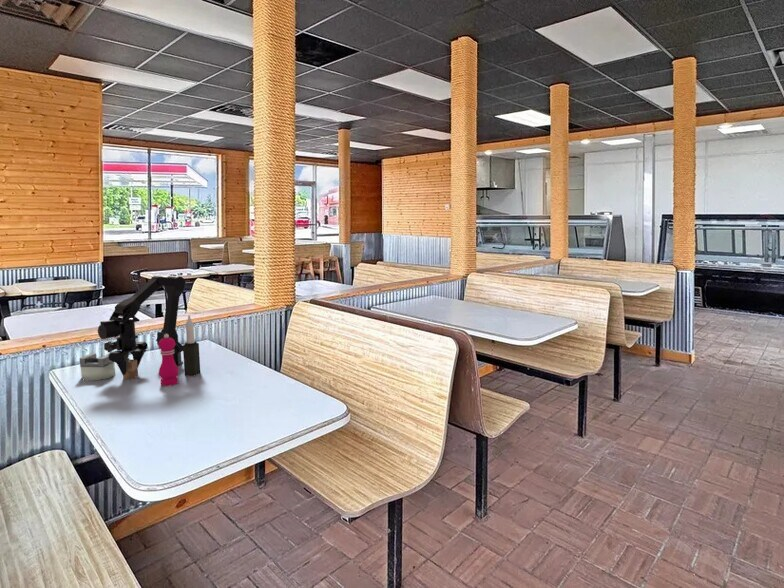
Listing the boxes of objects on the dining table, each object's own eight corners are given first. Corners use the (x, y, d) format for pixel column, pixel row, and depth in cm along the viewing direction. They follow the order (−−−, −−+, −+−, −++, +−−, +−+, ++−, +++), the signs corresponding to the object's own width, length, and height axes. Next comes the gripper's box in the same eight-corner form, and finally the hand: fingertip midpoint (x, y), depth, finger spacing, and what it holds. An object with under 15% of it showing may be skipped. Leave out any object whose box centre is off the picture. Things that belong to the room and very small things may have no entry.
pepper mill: (174, 386, 195) (171, 336, 192) (156, 386, 195) (152, 335, 192) (182, 380, 202) (179, 331, 199) (164, 380, 202) (161, 331, 199)
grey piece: (121, 371, 212) (120, 360, 211) (104, 381, 200) (103, 369, 200) (93, 371, 213) (92, 359, 212) (74, 380, 201) (73, 368, 200)
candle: (194, 376, 207) (191, 316, 203) (183, 375, 208) (179, 316, 204) (201, 372, 212) (198, 314, 208) (190, 371, 213) (187, 313, 209)
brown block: (138, 376, 207) (137, 359, 206) (132, 379, 203) (131, 362, 202) (128, 375, 207) (127, 359, 206) (123, 379, 203) (121, 362, 202)
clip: (114, 361, 209) (114, 353, 209) (103, 367, 202) (102, 358, 201) (92, 361, 210) (91, 353, 209) (80, 366, 202) (79, 358, 202)
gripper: (121, 328, 212) (124, 364, 214) (93, 339, 193) (96, 378, 196) (147, 328, 211) (149, 364, 214) (121, 339, 193) (124, 378, 195)
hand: (130, 371), depth 205 cm, fingers open, 9 cm apart
